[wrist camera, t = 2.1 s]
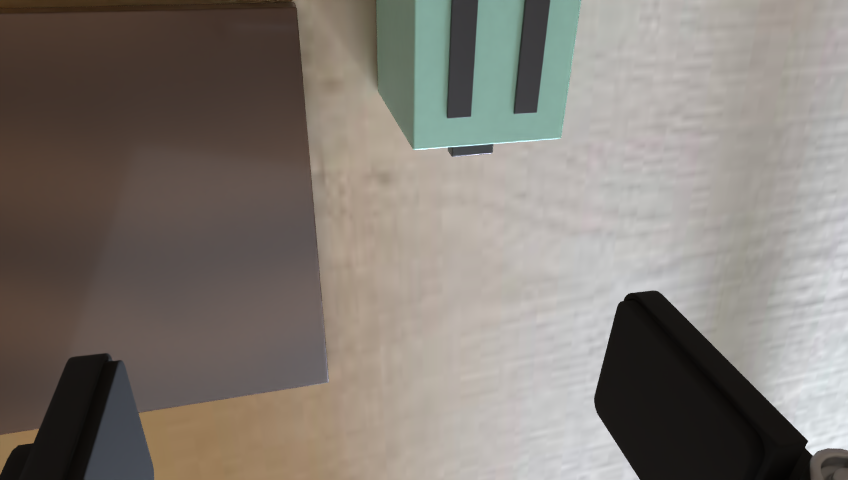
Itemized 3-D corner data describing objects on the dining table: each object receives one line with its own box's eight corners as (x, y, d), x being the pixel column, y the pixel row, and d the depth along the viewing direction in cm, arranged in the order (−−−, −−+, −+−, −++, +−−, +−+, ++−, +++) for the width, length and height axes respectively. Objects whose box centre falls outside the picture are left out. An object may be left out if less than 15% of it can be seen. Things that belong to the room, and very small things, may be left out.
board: (-247, 13, 21) (-272, 19, 20) (294, 1, 25) (296, 6, 24) (-28, 423, 32) (-37, 441, 31) (326, 369, 36) (329, 382, 35)
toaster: (372, -137, 23) (417, -145, 17) (515, -133, 25) (604, -139, 18) (378, 116, 29) (413, 181, 22) (494, 109, 30) (558, 168, 24)
